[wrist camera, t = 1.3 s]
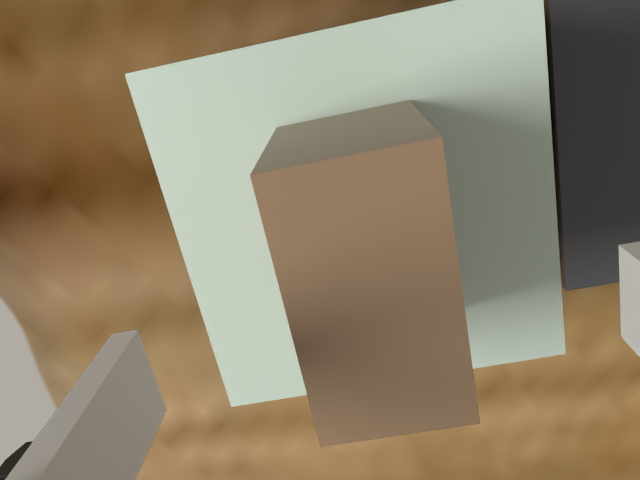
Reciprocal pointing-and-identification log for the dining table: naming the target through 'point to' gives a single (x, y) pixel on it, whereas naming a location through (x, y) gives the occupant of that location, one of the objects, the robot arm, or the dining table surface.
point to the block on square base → (367, 210)
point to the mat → (595, 133)
